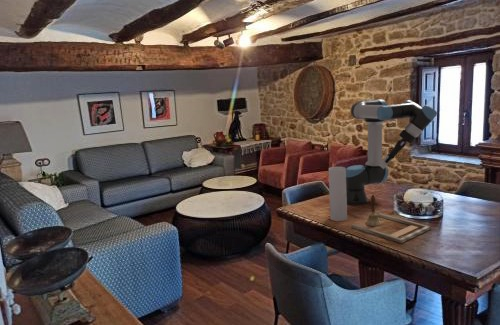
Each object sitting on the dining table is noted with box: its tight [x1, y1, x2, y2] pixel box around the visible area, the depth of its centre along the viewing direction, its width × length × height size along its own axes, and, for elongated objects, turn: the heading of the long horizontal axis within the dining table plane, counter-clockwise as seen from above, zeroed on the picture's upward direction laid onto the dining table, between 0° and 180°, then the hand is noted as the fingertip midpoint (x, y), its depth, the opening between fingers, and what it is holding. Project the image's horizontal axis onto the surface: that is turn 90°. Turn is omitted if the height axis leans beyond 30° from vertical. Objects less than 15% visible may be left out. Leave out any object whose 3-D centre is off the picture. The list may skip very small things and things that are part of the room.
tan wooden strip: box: [390, 225, 419, 238], centre depth 184 cm, size 21×4×1 cm, turn 124°
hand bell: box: [365, 194, 382, 227], centre depth 198 cm, size 8×8×16 cm
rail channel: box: [350, 212, 431, 244], centre depth 191 cm, size 24×30×2 cm
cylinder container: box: [328, 166, 348, 222], centre depth 208 cm, size 9×9×30 cm
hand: (382, 165), depth 191 cm, fingers open, 13 cm apart
